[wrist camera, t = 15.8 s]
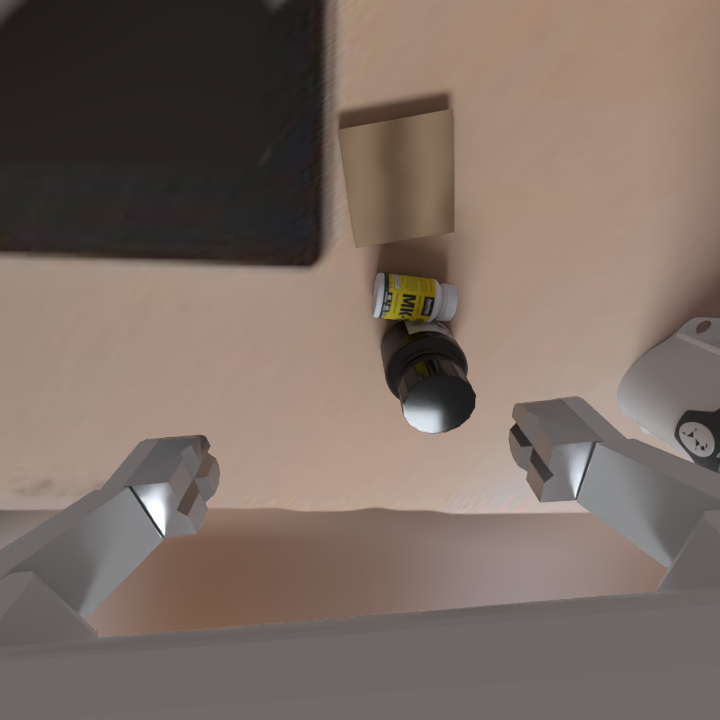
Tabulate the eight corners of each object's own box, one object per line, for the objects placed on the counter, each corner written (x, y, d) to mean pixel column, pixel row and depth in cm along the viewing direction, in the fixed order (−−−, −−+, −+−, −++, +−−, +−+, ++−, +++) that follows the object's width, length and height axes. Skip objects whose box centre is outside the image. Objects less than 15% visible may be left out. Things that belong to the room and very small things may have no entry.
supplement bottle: (378, 291, 31) (462, 300, 32) (377, 263, 34) (454, 271, 35) (371, 326, 35) (447, 333, 35) (371, 298, 38) (441, 305, 38)
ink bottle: (468, 347, 40) (509, 405, 30) (415, 390, 43) (436, 457, 33) (416, 296, 37) (442, 341, 26) (363, 346, 40) (368, 405, 29)
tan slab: (447, 113, 29) (453, 108, 27) (448, 229, 34) (454, 231, 32) (338, 132, 30) (338, 129, 28) (355, 244, 35) (355, 247, 33)
